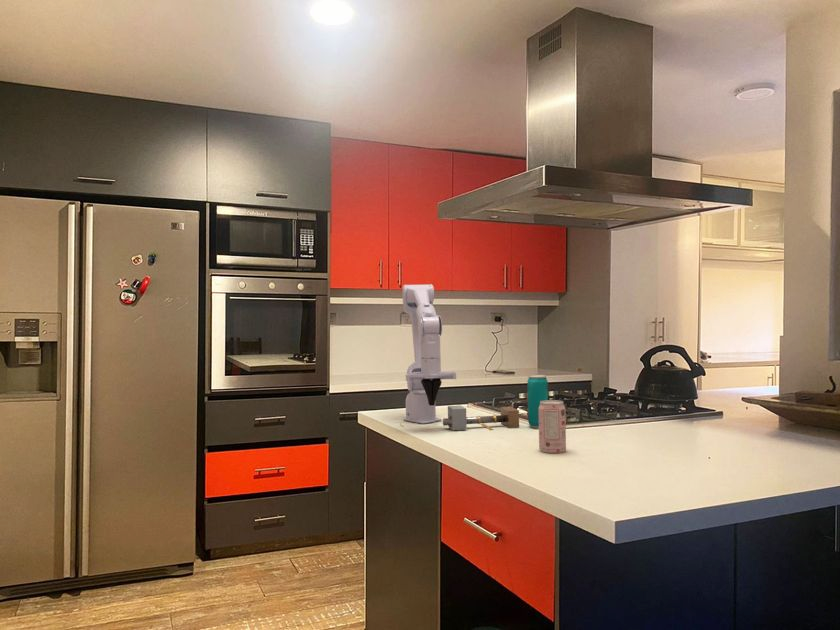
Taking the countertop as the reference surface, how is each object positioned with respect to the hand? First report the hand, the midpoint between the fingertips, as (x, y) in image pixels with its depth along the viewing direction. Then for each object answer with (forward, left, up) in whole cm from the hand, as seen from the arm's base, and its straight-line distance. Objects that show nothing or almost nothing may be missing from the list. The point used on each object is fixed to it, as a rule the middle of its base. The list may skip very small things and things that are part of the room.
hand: (431, 405), depth 185 cm
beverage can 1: (+19, +24, -8) cm, 32 cm away
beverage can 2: (+40, +3, -8) cm, 41 cm away
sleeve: (+4, +6, -7) cm, 10 cm away
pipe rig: (+7, +12, -7) cm, 16 cm away
